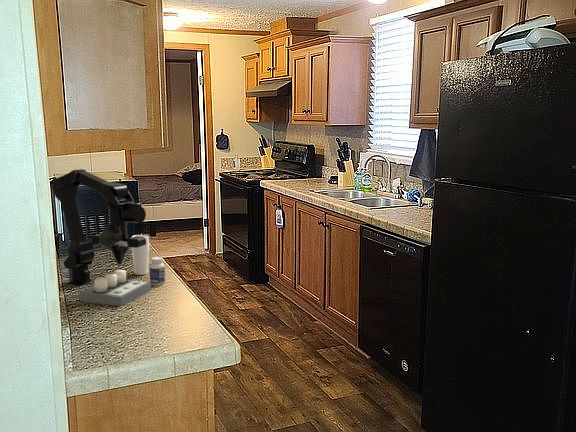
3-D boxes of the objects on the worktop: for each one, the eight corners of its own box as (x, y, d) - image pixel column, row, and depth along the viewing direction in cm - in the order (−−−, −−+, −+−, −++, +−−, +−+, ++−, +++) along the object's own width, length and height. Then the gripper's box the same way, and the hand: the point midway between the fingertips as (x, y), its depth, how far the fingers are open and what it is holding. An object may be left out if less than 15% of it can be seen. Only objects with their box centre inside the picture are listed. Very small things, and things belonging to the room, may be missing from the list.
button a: (92, 291, 180) (91, 280, 179) (99, 288, 183) (99, 277, 183) (102, 292, 178) (102, 281, 178) (110, 289, 182) (109, 278, 182)
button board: (79, 301, 180) (79, 291, 179) (112, 286, 197) (111, 277, 196) (121, 306, 175) (121, 296, 175) (150, 290, 192) (150, 281, 192)
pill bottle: (161, 286, 197) (160, 260, 196) (147, 285, 198) (146, 259, 197) (167, 282, 203) (166, 256, 201) (153, 281, 204) (153, 256, 202)
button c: (112, 282, 190) (111, 272, 189) (118, 279, 194) (118, 269, 193) (122, 283, 189) (121, 273, 188) (128, 280, 193) (128, 270, 192)
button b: (102, 287, 185) (102, 276, 184) (109, 283, 189) (109, 273, 188) (112, 288, 184) (112, 277, 183) (119, 284, 187) (119, 274, 187)
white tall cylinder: (128, 274, 212) (127, 237, 209) (139, 270, 218) (138, 234, 215) (143, 276, 209) (141, 238, 207) (153, 272, 215) (152, 235, 213)
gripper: (79, 222, 183) (82, 267, 185) (128, 226, 177) (129, 272, 180) (100, 217, 193) (102, 259, 196) (146, 220, 188) (147, 264, 191)
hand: (119, 264), depth 190 cm, fingers closed
